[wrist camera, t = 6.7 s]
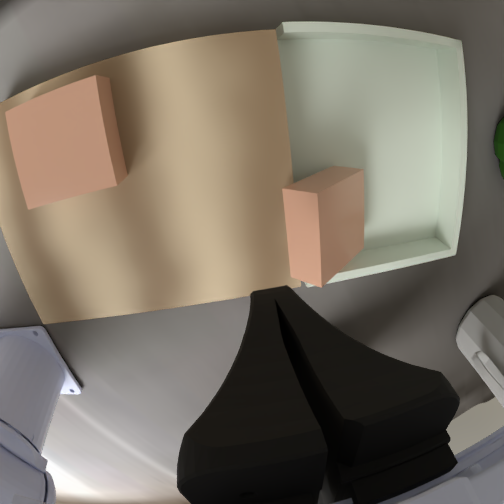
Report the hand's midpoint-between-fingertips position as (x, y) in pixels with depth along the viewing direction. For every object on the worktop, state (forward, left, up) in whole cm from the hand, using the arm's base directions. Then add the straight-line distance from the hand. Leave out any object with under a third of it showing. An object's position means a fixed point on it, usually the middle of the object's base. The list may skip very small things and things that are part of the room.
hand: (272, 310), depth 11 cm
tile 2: (-8, +7, -6) cm, 12 cm away
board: (-6, +4, -9) cm, 12 cm away
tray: (+9, +4, -9) cm, 13 cm away
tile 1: (+4, 0, -7) cm, 8 cm away
